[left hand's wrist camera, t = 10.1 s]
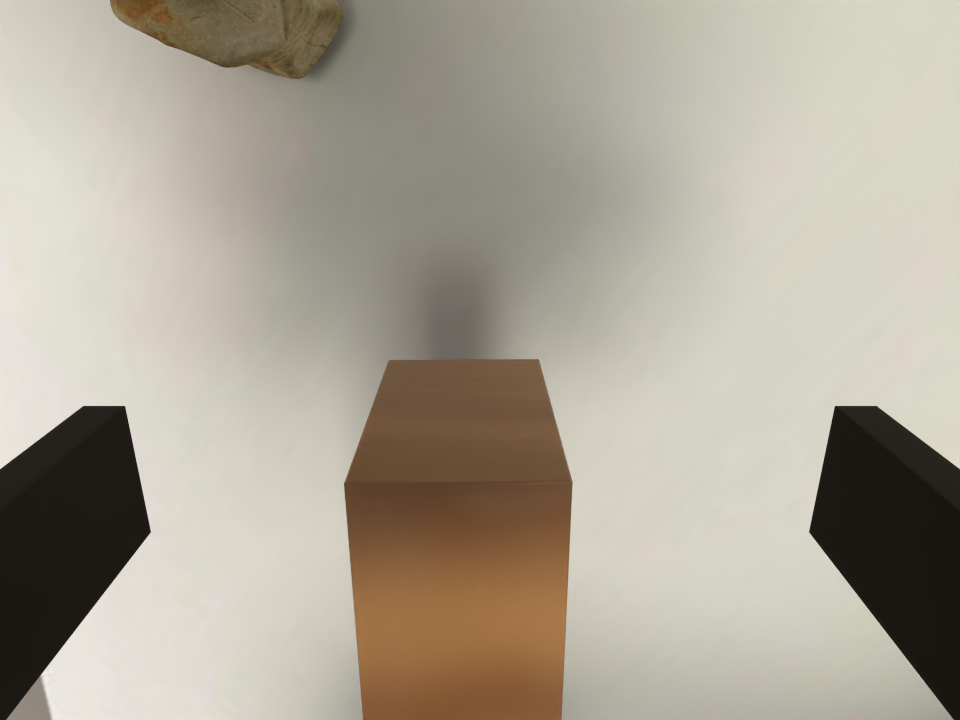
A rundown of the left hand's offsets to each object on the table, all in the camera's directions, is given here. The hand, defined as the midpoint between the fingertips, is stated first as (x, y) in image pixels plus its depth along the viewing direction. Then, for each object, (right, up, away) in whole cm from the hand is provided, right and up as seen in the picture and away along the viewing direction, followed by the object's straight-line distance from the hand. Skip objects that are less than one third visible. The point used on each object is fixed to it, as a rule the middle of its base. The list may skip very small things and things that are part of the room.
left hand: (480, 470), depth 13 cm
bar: (0, -11, +15) cm, 18 cm away
